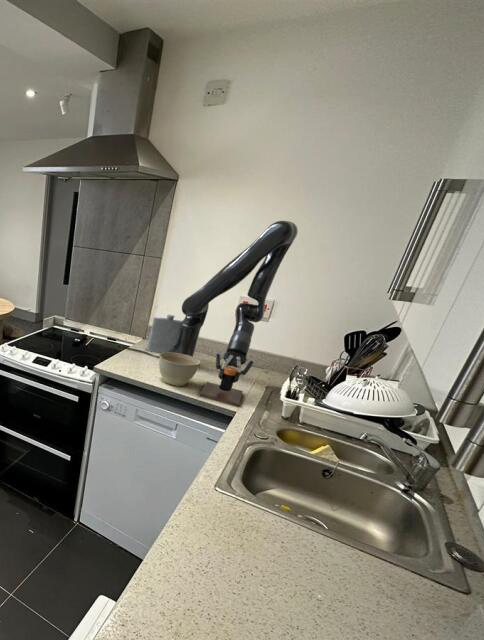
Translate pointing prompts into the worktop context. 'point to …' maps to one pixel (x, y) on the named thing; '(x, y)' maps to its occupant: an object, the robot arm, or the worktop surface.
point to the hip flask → (163, 334)
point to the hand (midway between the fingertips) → (227, 380)
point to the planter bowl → (177, 368)
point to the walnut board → (221, 394)
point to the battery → (228, 378)
